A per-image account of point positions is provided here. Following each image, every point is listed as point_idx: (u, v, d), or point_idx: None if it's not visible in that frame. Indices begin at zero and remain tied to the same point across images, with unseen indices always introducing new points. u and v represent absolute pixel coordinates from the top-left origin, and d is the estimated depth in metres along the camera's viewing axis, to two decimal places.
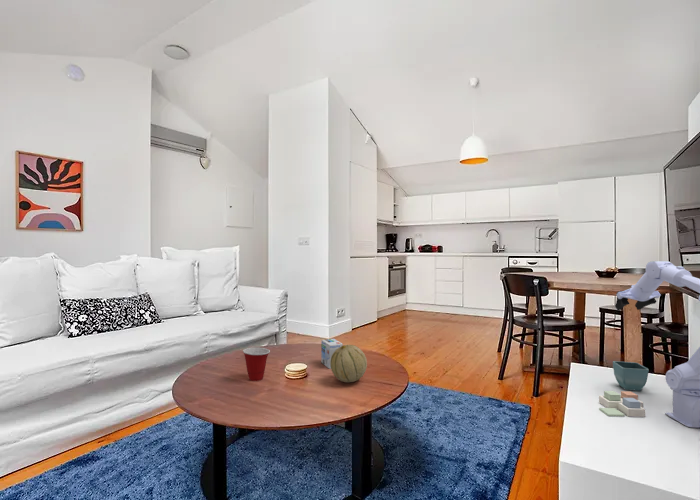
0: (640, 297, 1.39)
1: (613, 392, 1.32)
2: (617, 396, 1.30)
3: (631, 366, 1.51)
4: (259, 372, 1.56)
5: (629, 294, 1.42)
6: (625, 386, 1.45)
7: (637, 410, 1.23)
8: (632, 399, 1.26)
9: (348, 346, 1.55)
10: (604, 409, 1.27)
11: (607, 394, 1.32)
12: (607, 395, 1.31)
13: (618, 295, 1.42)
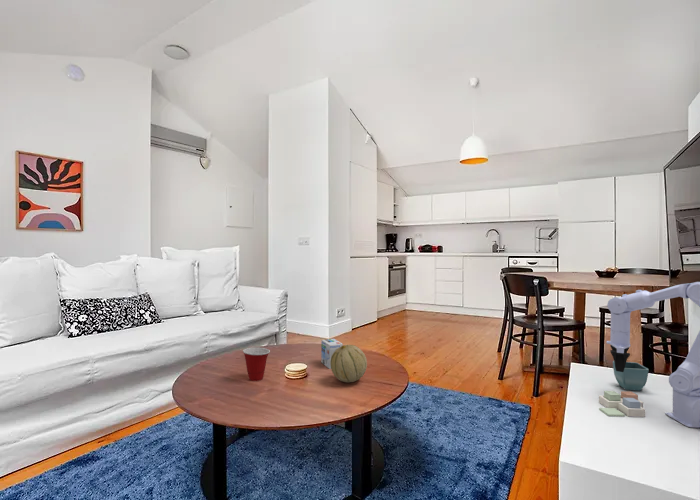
0: (628, 342, 1.36)
1: (613, 392, 1.32)
2: (617, 396, 1.30)
3: (631, 366, 1.51)
4: (259, 372, 1.56)
5: (620, 345, 1.35)
6: (625, 386, 1.45)
7: (637, 410, 1.23)
8: (632, 399, 1.26)
9: (348, 346, 1.55)
10: (604, 409, 1.27)
11: (607, 394, 1.32)
12: (607, 395, 1.31)
13: (620, 350, 1.32)
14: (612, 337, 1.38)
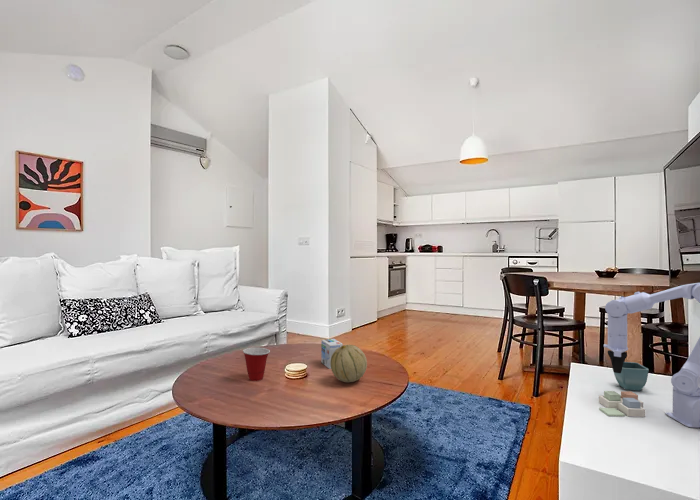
0: (625, 345, 1.33)
1: (613, 392, 1.32)
2: (617, 396, 1.30)
3: (631, 366, 1.51)
4: (259, 372, 1.56)
5: None
6: (625, 386, 1.45)
7: (637, 410, 1.23)
8: (632, 399, 1.26)
9: (348, 346, 1.55)
10: (604, 409, 1.27)
11: (607, 394, 1.32)
12: (607, 395, 1.31)
13: (617, 353, 1.30)
14: (609, 340, 1.36)
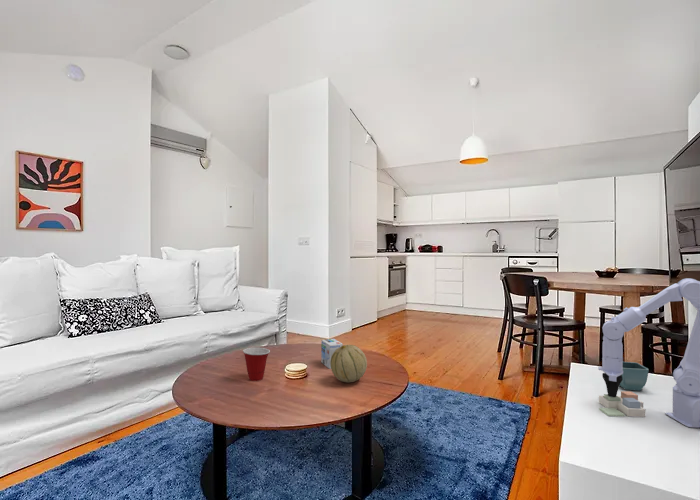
0: (621, 369, 1.29)
1: None
2: (617, 399, 1.30)
3: (631, 366, 1.51)
4: (259, 372, 1.56)
5: (613, 373, 1.28)
6: (625, 386, 1.45)
7: (637, 410, 1.23)
8: (632, 399, 1.26)
9: (348, 346, 1.55)
10: (604, 409, 1.27)
11: (607, 397, 1.32)
12: (607, 398, 1.31)
13: (612, 378, 1.25)
14: (604, 363, 1.31)
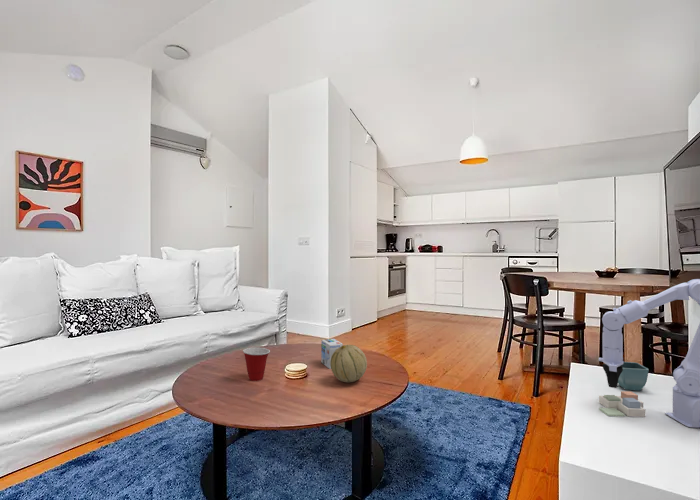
0: (621, 359, 1.29)
1: (613, 396, 1.32)
2: (617, 400, 1.30)
3: (631, 366, 1.51)
4: (259, 372, 1.56)
5: None
6: (625, 386, 1.45)
7: (637, 410, 1.23)
8: (632, 399, 1.26)
9: (348, 346, 1.55)
10: (604, 409, 1.27)
11: (607, 398, 1.32)
12: (607, 399, 1.31)
13: (612, 368, 1.25)
14: (604, 354, 1.31)
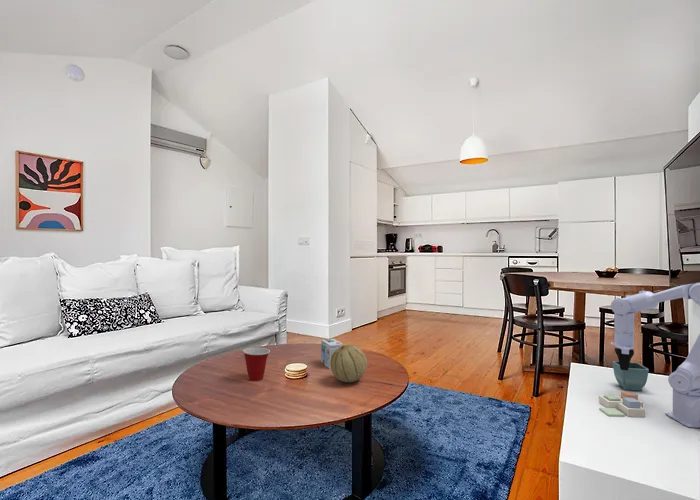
0: (632, 343, 1.35)
1: (613, 396, 1.32)
2: (617, 400, 1.30)
3: (631, 366, 1.51)
4: (259, 372, 1.56)
5: (625, 346, 1.34)
6: (625, 386, 1.45)
7: (637, 410, 1.23)
8: (632, 399, 1.26)
9: (348, 346, 1.55)
10: (604, 409, 1.27)
11: (607, 398, 1.32)
12: (607, 399, 1.31)
13: (625, 351, 1.32)
14: (616, 338, 1.37)
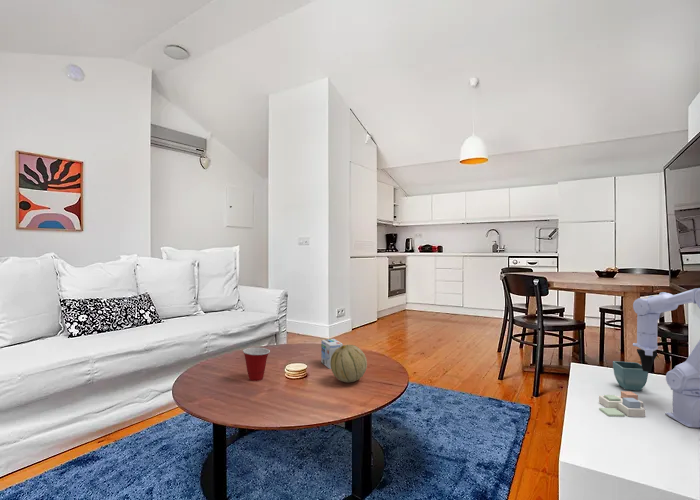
0: (656, 344, 1.33)
1: (613, 396, 1.32)
2: (617, 400, 1.30)
3: (631, 366, 1.51)
4: (259, 372, 1.56)
5: (648, 348, 1.33)
6: (625, 386, 1.45)
7: (637, 410, 1.23)
8: (632, 399, 1.26)
9: (348, 346, 1.55)
10: (604, 409, 1.27)
11: (607, 398, 1.32)
12: (607, 399, 1.31)
13: (648, 352, 1.30)
14: (639, 339, 1.36)
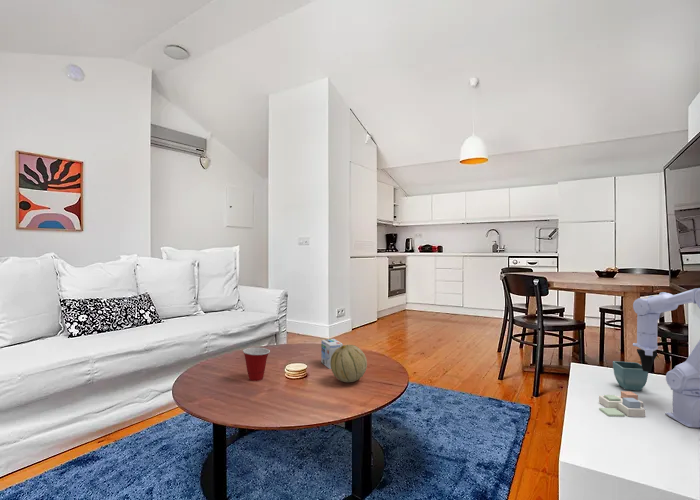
0: (656, 344, 1.33)
1: (613, 396, 1.32)
2: (617, 400, 1.30)
3: (631, 366, 1.51)
4: (259, 372, 1.56)
5: (648, 348, 1.33)
6: (625, 386, 1.45)
7: (637, 410, 1.23)
8: (632, 399, 1.26)
9: (348, 346, 1.55)
10: (604, 409, 1.27)
11: (607, 398, 1.32)
12: (607, 399, 1.31)
13: (648, 352, 1.30)
14: (639, 339, 1.36)
